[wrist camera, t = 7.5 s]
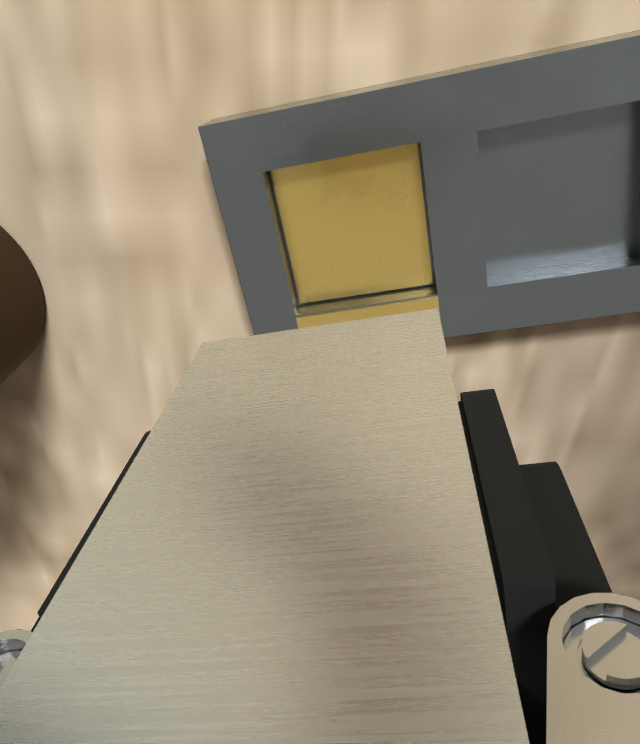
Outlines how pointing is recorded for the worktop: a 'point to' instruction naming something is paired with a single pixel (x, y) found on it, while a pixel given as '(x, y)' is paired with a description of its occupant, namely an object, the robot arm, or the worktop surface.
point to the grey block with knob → (284, 563)
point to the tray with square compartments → (442, 195)
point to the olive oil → (18, 306)
